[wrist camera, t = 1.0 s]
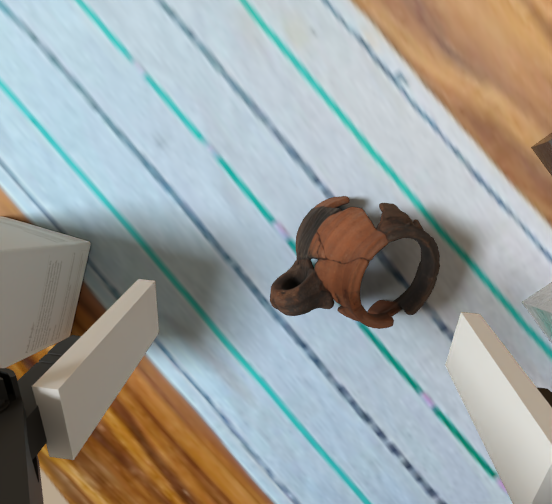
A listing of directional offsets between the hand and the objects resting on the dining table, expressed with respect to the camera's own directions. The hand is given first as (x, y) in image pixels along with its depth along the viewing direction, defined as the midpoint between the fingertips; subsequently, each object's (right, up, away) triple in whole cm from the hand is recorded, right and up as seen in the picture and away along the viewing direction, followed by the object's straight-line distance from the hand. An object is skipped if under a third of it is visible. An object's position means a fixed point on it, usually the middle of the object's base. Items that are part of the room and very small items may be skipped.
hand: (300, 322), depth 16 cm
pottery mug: (+4, +2, +14) cm, 15 cm away
